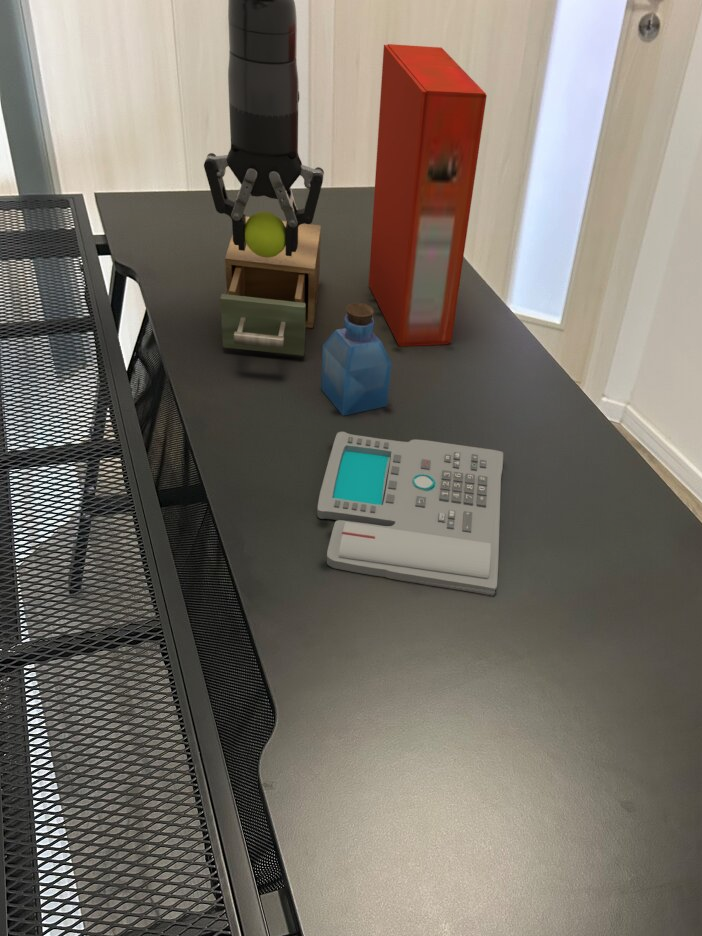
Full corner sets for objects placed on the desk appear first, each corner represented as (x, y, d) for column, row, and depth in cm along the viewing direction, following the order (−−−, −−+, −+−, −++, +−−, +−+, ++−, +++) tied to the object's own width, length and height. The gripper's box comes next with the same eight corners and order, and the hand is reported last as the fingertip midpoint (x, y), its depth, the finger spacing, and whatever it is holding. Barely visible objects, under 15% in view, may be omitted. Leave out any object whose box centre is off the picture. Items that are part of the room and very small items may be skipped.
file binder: (395, 346, 118) (422, 89, 95) (366, 286, 129) (384, 43, 106) (450, 344, 121) (489, 93, 98) (417, 285, 132) (445, 47, 109)
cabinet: (313, 328, 118) (314, 268, 112) (227, 319, 117) (224, 258, 111) (319, 282, 128) (321, 225, 122) (240, 273, 126) (238, 215, 120)
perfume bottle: (386, 406, 108) (396, 318, 99) (343, 415, 105) (348, 326, 96) (364, 380, 111) (371, 293, 103) (321, 389, 108) (324, 300, 100)
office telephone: (501, 579, 85) (302, 551, 84) (496, 597, 87) (302, 569, 86) (505, 442, 101) (338, 416, 100) (501, 459, 103) (337, 434, 102)
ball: (242, 262, 104) (240, 219, 101) (247, 243, 108) (245, 202, 104) (285, 267, 105) (285, 225, 101) (288, 248, 109) (288, 207, 105)
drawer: (301, 377, 108) (302, 328, 103) (217, 369, 107) (214, 319, 102) (310, 309, 120) (311, 262, 115) (235, 301, 119) (233, 253, 114)
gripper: (191, 102, 91) (202, 257, 103) (327, 120, 92) (322, 271, 105) (202, 80, 96) (211, 231, 108) (331, 98, 98) (325, 244, 110)
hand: (266, 250), depth 106 cm, fingers closed on ball, 5 cm apart
